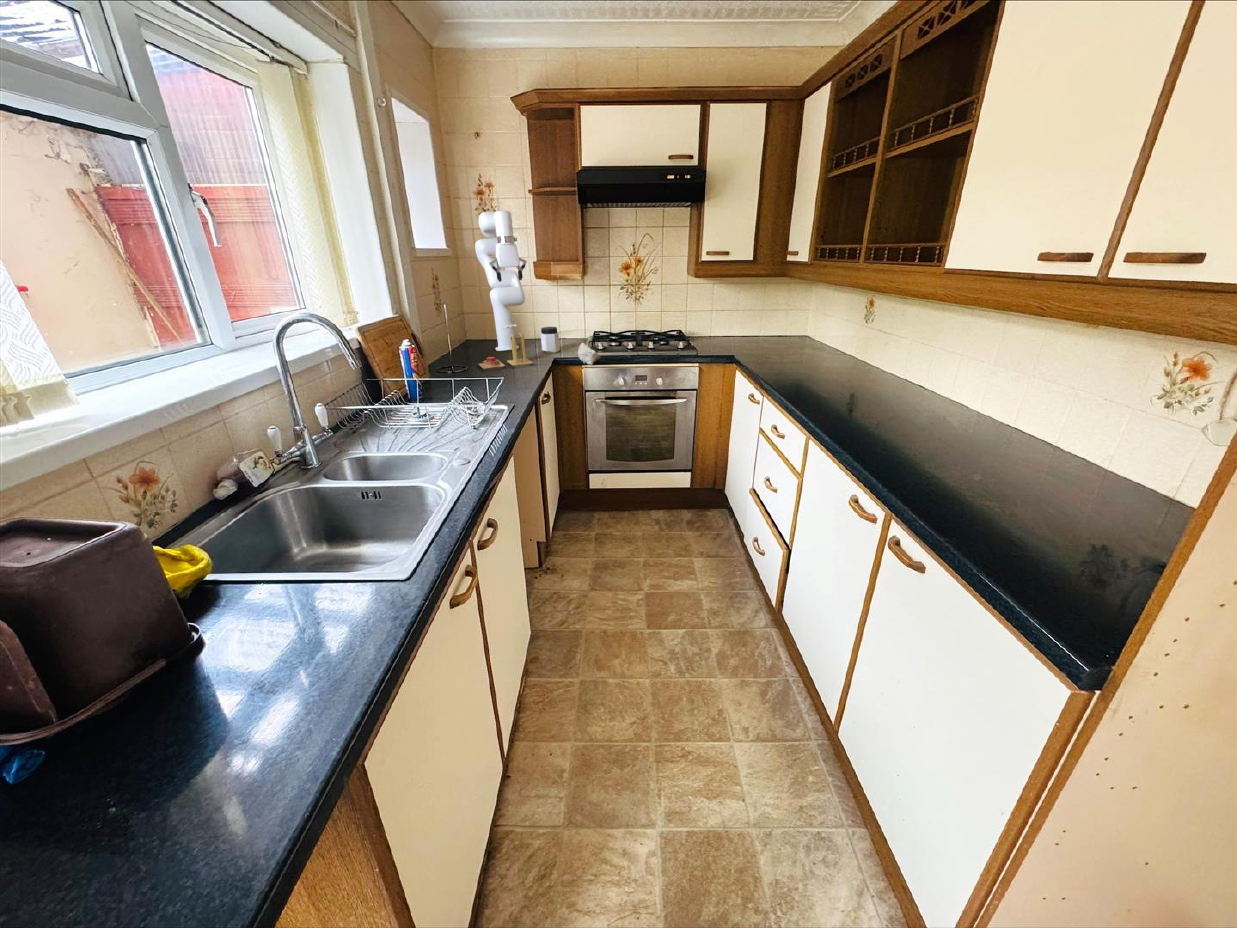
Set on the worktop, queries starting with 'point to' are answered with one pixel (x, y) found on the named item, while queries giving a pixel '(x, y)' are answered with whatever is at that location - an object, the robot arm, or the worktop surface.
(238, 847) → the worktop surface
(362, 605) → the worktop surface
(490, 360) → the button
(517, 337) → the switch lever
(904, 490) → the worktop surface
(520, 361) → the light wood peg stand
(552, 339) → the jar
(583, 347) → the grey rock
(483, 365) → the switch block
